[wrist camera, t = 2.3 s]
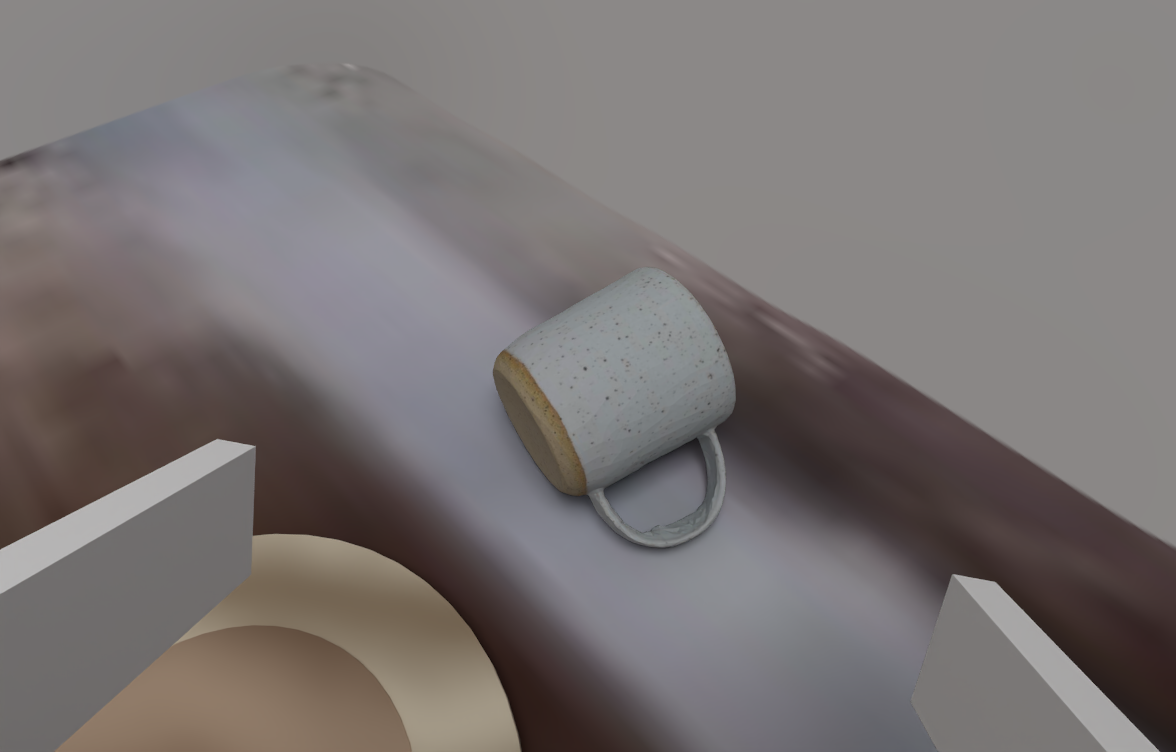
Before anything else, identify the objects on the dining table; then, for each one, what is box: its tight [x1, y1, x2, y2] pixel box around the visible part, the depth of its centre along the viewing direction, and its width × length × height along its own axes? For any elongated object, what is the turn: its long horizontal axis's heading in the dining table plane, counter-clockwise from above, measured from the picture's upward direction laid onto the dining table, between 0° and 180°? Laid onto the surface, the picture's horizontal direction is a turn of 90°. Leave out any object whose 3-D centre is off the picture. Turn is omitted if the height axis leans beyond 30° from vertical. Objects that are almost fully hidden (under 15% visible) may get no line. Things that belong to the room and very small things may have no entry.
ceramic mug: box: [493, 267, 736, 548], centre depth 27 cm, size 11×8×8 cm
